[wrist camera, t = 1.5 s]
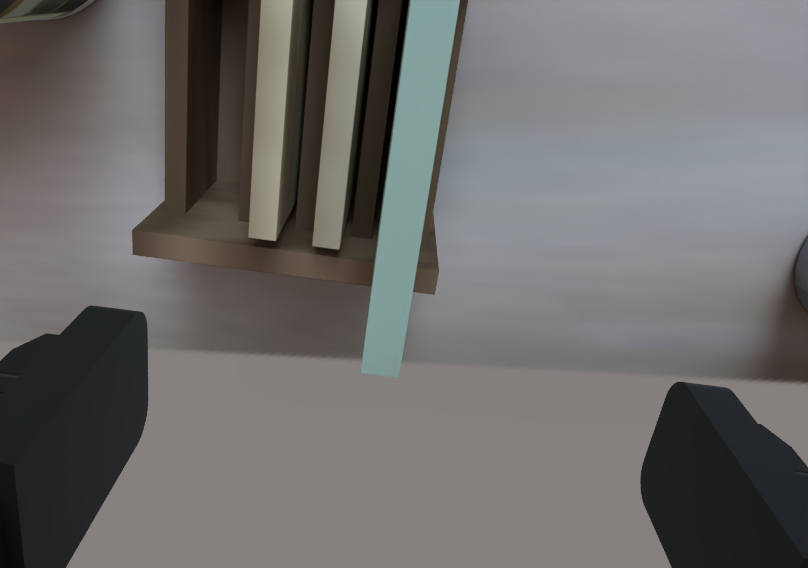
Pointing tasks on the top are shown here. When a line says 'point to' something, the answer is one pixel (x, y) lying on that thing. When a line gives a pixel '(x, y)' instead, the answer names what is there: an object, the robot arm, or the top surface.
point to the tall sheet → (408, 179)
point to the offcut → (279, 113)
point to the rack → (234, 135)
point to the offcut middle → (343, 117)
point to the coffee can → (39, 9)
